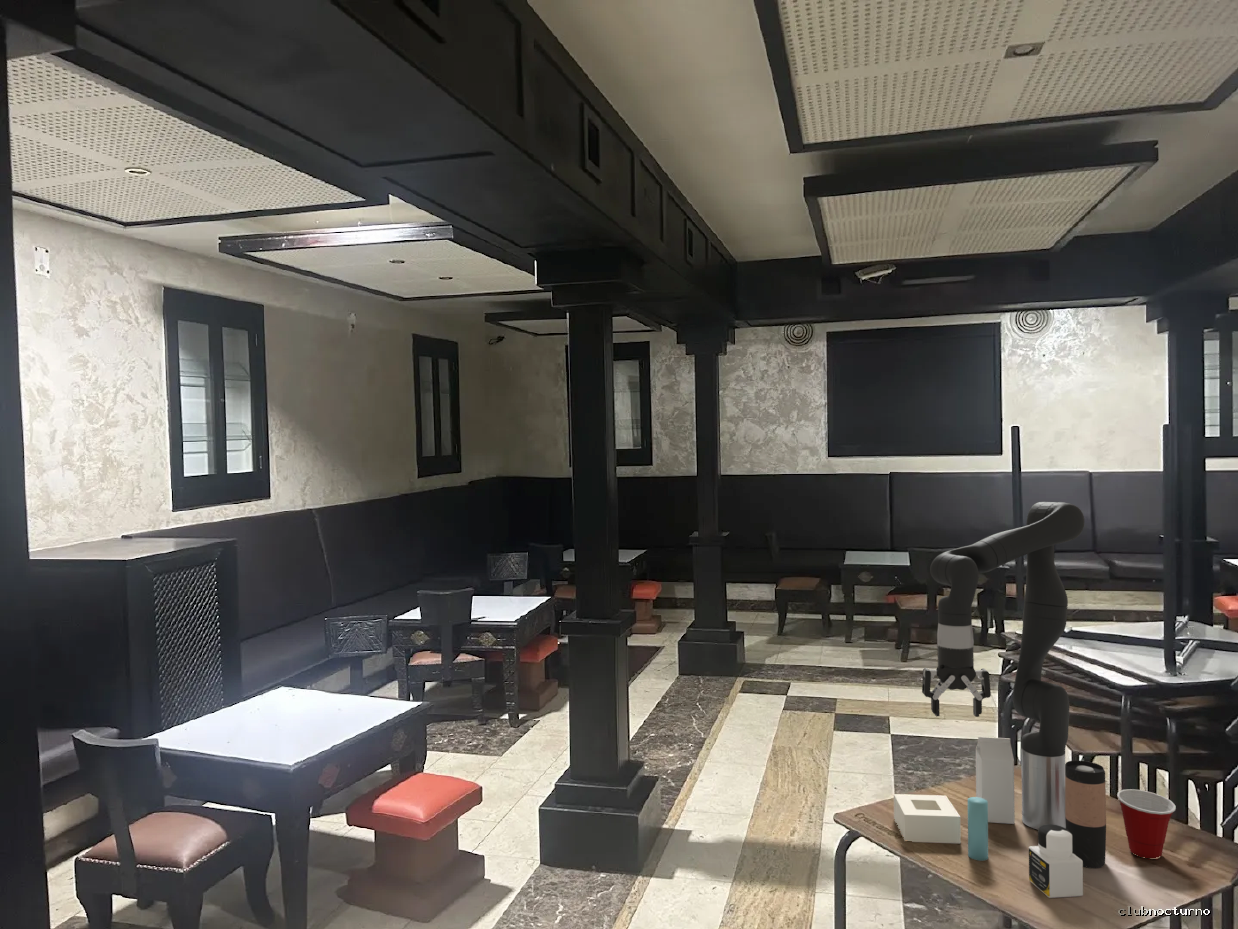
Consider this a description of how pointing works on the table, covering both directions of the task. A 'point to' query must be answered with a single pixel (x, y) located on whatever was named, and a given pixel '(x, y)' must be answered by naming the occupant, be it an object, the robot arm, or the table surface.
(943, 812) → the socket block
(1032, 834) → the table surface
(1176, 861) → the table surface
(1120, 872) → the table surface
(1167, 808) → the plastic cup
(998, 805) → the milk carton
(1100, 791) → the travel mug
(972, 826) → the peg
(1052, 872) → the medicine bottle
